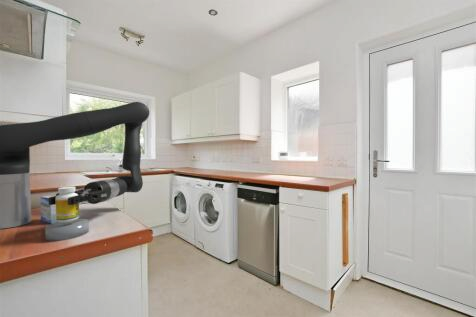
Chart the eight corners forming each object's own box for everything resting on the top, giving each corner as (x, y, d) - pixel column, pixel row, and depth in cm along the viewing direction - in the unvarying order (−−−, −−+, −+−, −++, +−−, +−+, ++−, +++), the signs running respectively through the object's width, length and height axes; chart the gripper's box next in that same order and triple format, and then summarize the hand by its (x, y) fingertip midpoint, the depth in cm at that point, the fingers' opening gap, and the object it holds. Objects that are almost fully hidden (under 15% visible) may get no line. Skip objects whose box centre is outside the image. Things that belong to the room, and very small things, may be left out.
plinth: (35, 240, 60) (35, 229, 60) (67, 228, 70) (67, 218, 70) (69, 241, 59) (68, 230, 59) (96, 228, 69) (96, 219, 69)
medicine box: (40, 221, 78) (39, 196, 78) (55, 217, 82) (54, 194, 82) (51, 224, 74) (50, 198, 74) (66, 220, 78) (65, 196, 78)
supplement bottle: (56, 219, 65) (55, 187, 64) (78, 216, 68) (77, 185, 68) (56, 224, 61) (54, 189, 60) (80, 220, 64) (78, 187, 64)
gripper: (83, 180, 79) (35, 188, 62) (120, 180, 78) (82, 188, 61) (83, 201, 79) (36, 214, 62) (121, 201, 78) (83, 215, 61)
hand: (59, 201), depth 62 cm, fingers closed on supplement bottle, 5 cm apart
